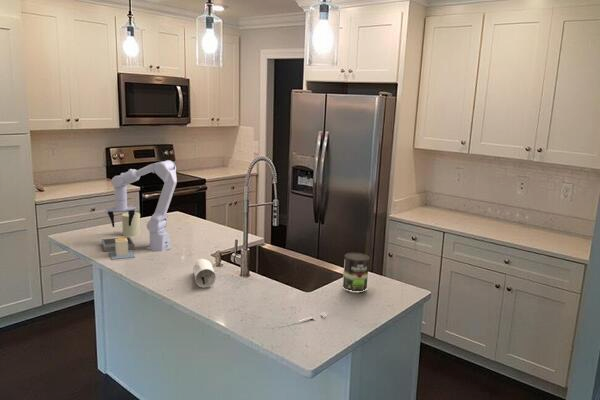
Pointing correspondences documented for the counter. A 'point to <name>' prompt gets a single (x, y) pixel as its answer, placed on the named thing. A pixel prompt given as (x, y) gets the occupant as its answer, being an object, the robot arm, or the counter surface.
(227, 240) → the counter surface
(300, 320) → the fork
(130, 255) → the mat
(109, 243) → the gray square tray
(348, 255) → the coffee can
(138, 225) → the can
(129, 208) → the robot arm
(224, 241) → the counter surface
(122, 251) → the block
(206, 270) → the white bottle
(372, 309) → the counter surface
